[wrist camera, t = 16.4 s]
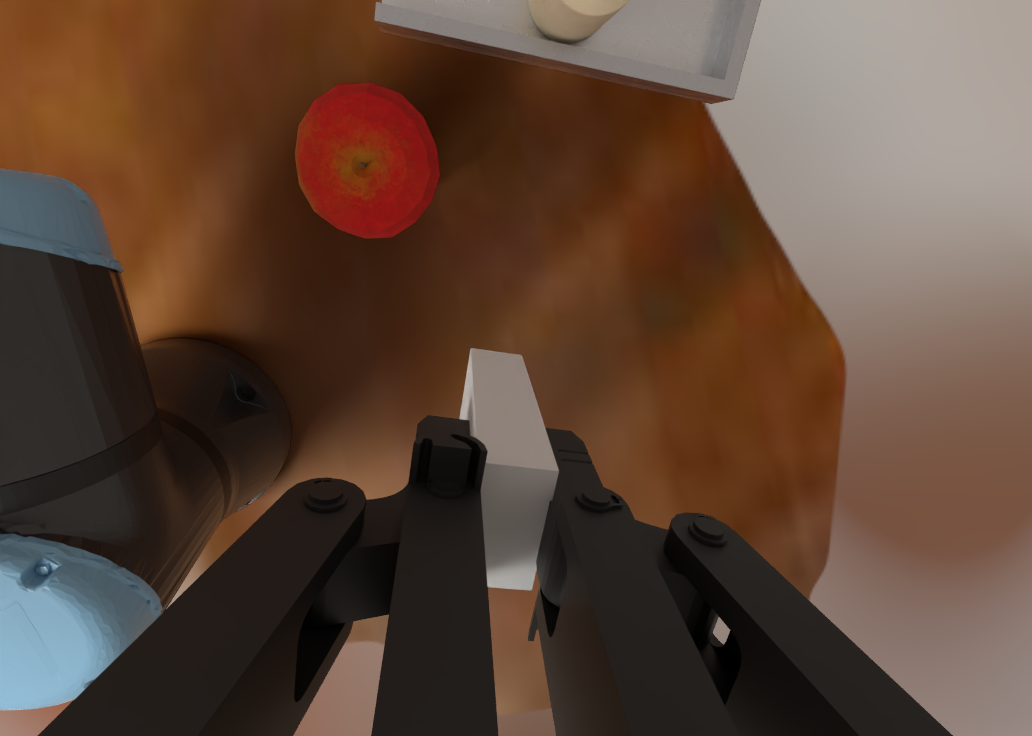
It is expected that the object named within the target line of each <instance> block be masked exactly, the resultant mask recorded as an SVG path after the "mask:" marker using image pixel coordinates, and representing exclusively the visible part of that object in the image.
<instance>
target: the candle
mask: <svg viewBox="0 0 1032 736" xmlns="http://www.w3.org/2000/svg"><path fill="white" fill-rule="evenodd" d="M629 1H630V0H528V3H529V9H530V13H531V16H532V18H533V20H534V22H535V24H536V26H537V27H538V28H539V30H540V31H541V32H542V33H543V34H544V35H546V36H547V37H548V38H550V39H552V40H554V41H556V42H560V43H567V44H568V43H577V42H580V41H583V40H585V39H587V38H588V37H590V36H591V35H593V34H594V33H595V32H596V31H597V30H598V29H600V28H601V27H602V26H603V25H604V24H605V23H606V22H607V21H608V20H609V19H610V18H612V17H613V16H614V15H615V14H616V13H617V12H618V11H619V10H620V9H621V8H623V7H624V6H625V5H626V4H627V3H628V2H629Z"/></svg>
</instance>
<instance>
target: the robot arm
mask: <svg viewBox="0 0 1032 736" xmlns="http://www.w3.org/2000/svg"><path fill="white" fill-rule="evenodd" d="M121 272H124V270H123V267H122V265H121V263H120V262H119V261H117V260H116V259H115V257H114V254H113V251H112V248H111V245H110V242H109V239H108V236H107V233H106V230H105V227H104V224H103V221H102V218H101V215H100V212H99V210H98V208H97V206H96V204H95V202H94V201H93V199H92V198H91V197H90V196H89V195H88V194H87V193H86V192H85V191H84V190H83V189H82V188H80V187H79V186H77V185H76V184H74V183H72V182H70V181H68V180H66V179H63V178H60V177H57V176H53V175H48V174H42V173H34V172H26V171H18V170H10V169H0V710H25V709H36V708H43V707H49V706H53V705H58V704H61V703H64V702H68V701H71V700H73V701H72V702H71V703H70V704H69V706H67V707H66V708H65V709H64V710H63V711H62V712H61V713H60V714H59V715H58V716H57V717H56V718H55V719H54V720H53V721H52V722H51V723H50V724H49V725H48V726H47V727H46V728H45V729H44V730H43V731H42V732H41V733H40V734H39V735H38V736H293V735H294V733H295V731H296V730H297V728H298V726H299V724H300V722H301V720H302V718H303V717H304V715H305V713H306V712H307V710H308V708H309V706H310V704H311V702H312V701H313V699H314V697H315V695H316V693H317V692H318V690H319V688H320V686H321V684H322V683H323V681H324V679H325V677H326V676H327V674H328V672H329V670H330V668H331V667H332V665H333V663H334V661H335V659H336V657H337V656H338V654H339V652H340V650H341V649H342V647H343V645H344V643H345V641H346V640H347V638H348V636H349V634H350V632H351V629H352V625H353V621H357V620H362V619H367V618H372V617H378V616H383V615H388V614H389V619H388V626H387V633H386V640H385V646H384V654H383V660H382V667H381V674H380V680H379V688H378V694H377V702H376V708H375V714H374V721H373V728H372V735H371V736H498V726H497V711H496V697H495V683H494V670H493V656H492V642H491V628H490V614H489V600H488V587H494V588H507V589H520V590H532V587H533V582H534V578H535V573H536V569H537V571H538V576H539V582H540V586H539V590H538V595H537V599H536V603H535V607H534V612H533V616H532V620H531V624H530V629H529V635H528V641H534V637H535V633H536V630H537V629H539V635H540V641H541V647H542V653H543V659H544V665H545V671H546V677H547V683H548V689H549V695H550V701H551V707H552V713H553V719H554V725H555V731H556V736H953V735H951V734H950V733H949V732H948V731H947V730H946V729H945V728H944V727H943V726H942V725H941V724H940V723H938V721H936V720H935V719H934V718H933V717H932V716H931V715H930V714H929V713H928V712H927V711H926V710H925V709H924V708H923V707H922V706H921V705H919V704H918V703H917V702H916V701H915V700H914V699H913V698H912V697H911V696H910V695H909V694H908V693H907V692H906V691H905V690H903V689H902V688H901V687H900V686H899V685H898V684H897V683H896V682H895V681H894V680H893V679H892V678H891V677H890V676H889V675H887V674H886V673H885V672H884V671H883V670H882V669H881V668H880V667H879V666H878V665H877V664H876V663H875V662H874V661H873V660H871V659H870V658H869V657H868V656H867V655H866V654H865V653H864V652H863V651H862V650H861V649H860V648H859V647H857V645H855V643H853V642H852V641H851V640H850V639H849V638H848V637H847V636H846V635H845V634H844V633H843V632H842V631H841V630H840V629H839V628H837V627H836V626H835V625H834V624H833V623H832V622H831V621H830V620H829V619H828V618H827V617H825V615H823V613H822V612H820V611H819V610H818V609H817V608H816V607H815V606H814V605H813V604H812V603H811V602H810V601H809V600H808V599H807V598H806V597H804V596H803V595H802V594H801V593H800V592H799V591H798V590H797V589H796V588H795V587H794V586H793V585H792V584H791V583H790V582H788V581H787V580H786V579H785V578H784V577H783V576H782V575H781V574H780V573H779V572H778V571H777V570H776V569H775V568H774V567H772V566H771V565H770V564H769V563H768V562H767V561H766V560H765V559H764V558H763V557H762V556H761V555H760V554H759V553H758V552H757V551H755V550H754V549H753V548H752V547H751V546H750V545H749V544H748V543H747V542H746V541H745V540H744V539H743V538H742V537H741V536H739V535H738V534H737V533H736V532H735V531H734V530H732V529H731V528H730V527H728V526H727V525H726V524H724V523H722V522H720V521H718V520H716V519H715V518H713V517H711V516H708V515H706V516H705V514H700V513H682V514H677V515H676V516H675V517H674V518H673V519H672V520H671V523H670V526H669V529H668V530H666V529H662V528H659V527H656V526H652V525H649V524H645V523H643V522H640V521H637V520H635V519H634V517H633V515H632V512H631V510H630V508H629V506H628V505H627V503H626V502H625V501H624V500H623V498H622V497H620V496H619V495H617V494H616V493H615V492H613V491H611V490H609V489H606V488H604V487H603V485H602V483H601V481H600V479H599V476H598V474H597V472H596V469H595V467H594V465H593V464H592V460H591V458H590V456H589V455H588V451H587V449H586V447H585V444H584V442H583V441H582V440H581V439H580V438H578V437H577V436H576V435H575V434H574V433H573V432H572V431H566V430H558V429H550V428H545V426H544V423H543V420H542V416H541V413H540V410H539V407H538V404H537V401H536V398H535V395H534V391H533V388H532V385H531V382H530V379H529V376H528V373H527V370H526V367H525V363H524V360H523V357H522V355H518V354H510V353H503V352H496V351H489V350H482V349H475V348H471V349H470V356H469V362H468V368H467V375H466V381H465V387H464V393H463V400H462V406H461V412H460V419H454V418H446V417H437V416H429V415H428V416H427V417H426V418H424V419H423V420H422V421H421V422H420V423H418V427H417V434H416V440H415V442H414V445H413V453H412V461H411V468H410V476H409V482H408V484H407V486H406V487H405V488H404V489H403V490H401V491H399V492H398V493H396V494H394V495H391V496H388V497H384V498H378V499H371V500H366V497H365V495H364V492H363V491H362V490H361V489H360V488H359V487H357V486H356V485H355V484H353V483H350V482H347V481H345V480H341V479H333V478H316V479H311V480H307V481H304V482H301V483H298V484H296V485H295V486H293V487H292V488H290V489H289V490H287V491H286V492H285V493H284V494H283V495H282V496H281V497H280V498H279V499H278V500H277V501H276V502H275V503H274V504H273V505H272V506H271V507H270V508H269V509H268V510H267V511H266V512H265V513H264V514H263V515H262V516H261V517H260V518H259V519H258V520H257V521H256V522H255V523H254V524H253V525H252V526H251V527H250V528H249V529H248V530H247V531H246V532H245V533H244V534H243V535H242V536H241V537H239V538H238V539H237V540H236V541H235V542H234V543H233V544H232V545H231V546H230V547H229V548H228V549H227V550H226V551H225V552H224V553H223V554H222V555H221V556H220V557H219V558H218V559H217V560H216V561H215V562H214V563H213V564H212V565H211V566H210V567H209V568H208V569H207V570H206V571H205V572H204V573H203V574H202V575H201V576H200V577H199V578H198V579H197V580H196V581H195V582H194V583H193V584H192V585H191V586H190V587H189V588H188V589H187V590H186V591H184V592H183V593H182V594H181V595H180V596H179V597H178V598H177V599H176V600H175V601H174V602H173V603H172V604H171V605H170V606H169V607H168V605H169V604H170V602H171V600H172V599H173V597H174V596H175V594H176V592H177V591H178V589H179V588H180V586H181V584H182V583H183V581H184V580H185V578H186V576H187V575H188V573H189V572H190V570H191V568H192V567H193V565H194V564H195V562H196V560H197V559H198V557H199V556H200V554H201V552H202V551H203V549H204V548H205V546H206V544H207V543H208V541H209V540H210V538H211V536H212V535H213V533H214V532H215V530H216V529H217V527H218V525H219V524H220V522H221V521H223V520H224V519H225V518H227V517H228V516H230V515H231V514H233V513H235V512H237V511H239V510H241V509H243V508H245V507H246V506H248V505H249V504H251V503H252V502H254V501H255V500H257V499H258V498H259V497H260V496H261V495H262V494H263V493H264V492H265V491H266V490H267V489H268V488H269V487H270V486H271V484H272V483H273V481H274V480H275V478H276V477H277V475H278V473H279V471H280V470H281V468H282V466H283V464H284V462H285V460H286V458H287V455H288V452H289V448H290V443H291V423H290V418H289V414H288V410H287V407H286V405H285V402H284V400H283V398H282V396H281V394H280V393H279V391H278V389H277V388H276V386H275V385H274V384H273V382H272V381H271V380H270V379H269V378H268V376H267V375H266V374H265V373H264V372H263V371H262V370H260V369H259V368H258V367H257V366H256V365H255V364H253V363H252V362H251V361H249V360H248V359H246V358H245V357H243V356H242V355H240V354H238V353H236V352H234V351H232V350H230V349H228V348H226V347H223V346H220V345H218V344H214V343H211V342H207V341H203V340H197V339H188V338H172V339H163V340H158V341H154V342H150V343H147V344H144V345H141V346H140V343H139V339H138V335H137V332H136V328H135V324H134V321H133V317H132V313H131V310H130V306H129V302H128V299H127V295H126V291H125V287H124V284H123V280H122V276H121ZM167 607H168V608H167ZM166 608H167V609H166ZM718 617H720V618H721V619H722V621H723V622H724V623H725V624H726V625H727V627H728V628H729V629H730V633H729V635H728V638H727V641H726V643H725V644H724V645H723V644H722V643H721V642H720V641H719V640H718V639H717V638H716V637H715V636H714V634H713V629H714V627H715V624H716V622H717V619H718Z"/></svg>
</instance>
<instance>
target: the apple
mask: <svg viewBox="0 0 1032 736" xmlns="http://www.w3.org/2000/svg"><path fill="white" fill-rule="evenodd" d="M295 161H296V168H297V174H298V181H299V186H300V187H301V189H302V191H303V193H304V195H305V196H306V198H307V200H308V202H309V204H310V205H311V207H312V209H313V211H314V212H315V213H317V214H318V215H319V216H321V217H322V218H323V219H325V220H326V221H327V222H329V223H330V224H331V225H333V226H334V227H335V228H337V229H339V230H342V231H344V232H347V233H350V234H353V235H356V236H359V237H362V238H391V237H393V236H395V235H396V234H398V233H400V232H401V231H403V230H404V229H406V228H407V227H409V226H410V225H412V224H414V223H415V222H416V220H417V219H418V218H419V217H420V215H421V214H422V213H423V212H424V210H425V209H426V208H427V207H428V206H429V204H430V203H431V202H432V199H433V196H434V192H435V189H436V186H437V183H438V180H439V177H440V170H439V162H438V154H437V146H436V144H435V141H434V139H433V137H432V135H431V133H430V130H429V128H428V126H427V124H426V121H425V119H424V117H423V116H422V115H421V114H420V113H419V112H418V111H417V110H416V109H415V108H414V107H413V105H412V104H411V103H410V102H409V101H408V100H407V99H406V98H405V97H404V96H403V95H402V94H401V93H398V92H396V91H393V90H390V89H387V88H384V87H382V86H379V85H376V84H373V83H354V84H339V85H337V86H336V87H334V88H333V89H331V90H330V91H328V92H327V93H325V94H324V95H322V96H321V97H319V98H318V99H316V100H315V101H313V103H312V105H311V106H310V108H309V110H308V111H307V113H306V115H305V116H304V118H303V119H302V121H301V123H300V124H299V126H298V133H297V141H296V149H295Z"/></svg>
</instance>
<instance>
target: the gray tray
mask: <svg viewBox="0 0 1032 736" xmlns="http://www.w3.org/2000/svg"><path fill="white" fill-rule="evenodd" d="M760 2H761V0H630V1H629V2H628V3H627V4H626V5H625V6H624V7H623V8H621V9H620V10H619V11H618V12H617V13H616V14H615V15H614V16H613V17H612V18H610V19H609V20H608V21H607V22H606V23H605V24H604V25H603V26H602V27H601V28H600V29H598V30H597V31H596V32H595V33H594V34H593V35H591V36H590V37H588V38H587V39H585V40H583V41H580V42H577V43H568V44H567V43H560V42H556V41H554V40H552V39H550V38H548V37H547V36H546V35H544V34H543V33H542V32H541V31H540V30H539V28H538V27H537V26H536V24H535V22H534V20H533V18H532V16H531V13H530V9H529V3H528V0H382V3H379V2H376V8H375V22H376V24H377V25H378V27H379V29H380V30H381V32H382V33H386V34H391V35H396V36H400V37H405V38H410V39H414V40H419V41H423V42H428V43H433V44H437V45H442V46H446V47H451V48H456V49H460V50H465V51H469V52H474V53H479V54H483V55H488V56H493V57H497V58H502V59H506V60H511V61H516V62H520V63H525V64H529V65H534V66H539V67H543V68H548V69H552V70H557V71H562V72H566V73H571V74H576V75H580V76H585V77H589V78H594V79H599V80H603V81H608V82H612V83H617V84H622V85H626V86H631V87H635V88H640V89H645V90H649V91H654V92H659V93H663V94H668V95H672V96H677V97H682V98H686V99H691V100H695V101H700V102H705V103H709V104H713V103H718V102H723V101H727V100H732V99H734V96H735V93H736V89H737V85H738V81H739V78H740V74H741V71H742V67H743V63H744V60H745V56H746V53H747V49H748V46H749V42H750V38H751V35H752V31H753V28H754V24H755V20H756V16H757V13H758V9H759V6H760Z"/></svg>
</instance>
